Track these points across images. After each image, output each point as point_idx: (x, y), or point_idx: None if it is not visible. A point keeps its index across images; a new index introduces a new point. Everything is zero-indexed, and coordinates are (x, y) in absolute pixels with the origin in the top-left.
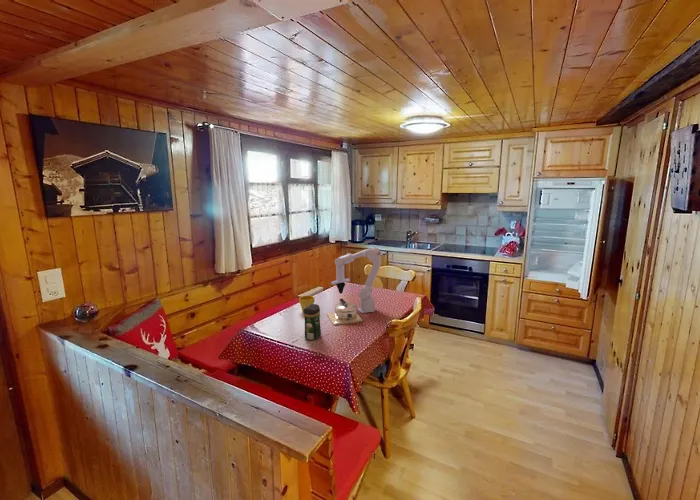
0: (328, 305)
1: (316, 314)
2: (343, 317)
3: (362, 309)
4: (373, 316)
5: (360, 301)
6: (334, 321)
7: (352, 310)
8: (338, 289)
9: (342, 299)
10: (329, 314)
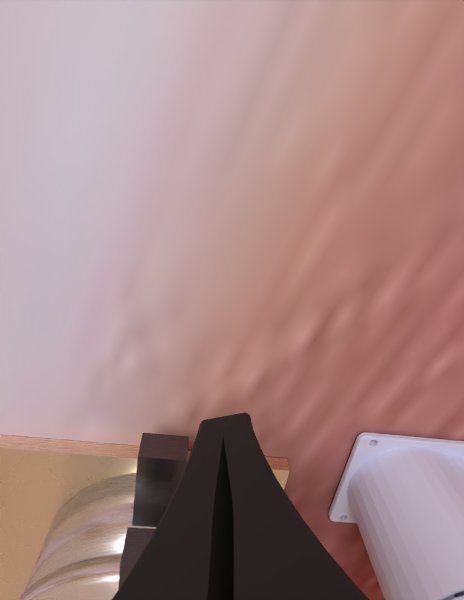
0: (76, 136)
1: None
2: None
3: (356, 522)
4: (365, 580)
5: (388, 587)
6: (18, 597)
7: None
8: (178, 499)
9: None
10: (2, 475)
